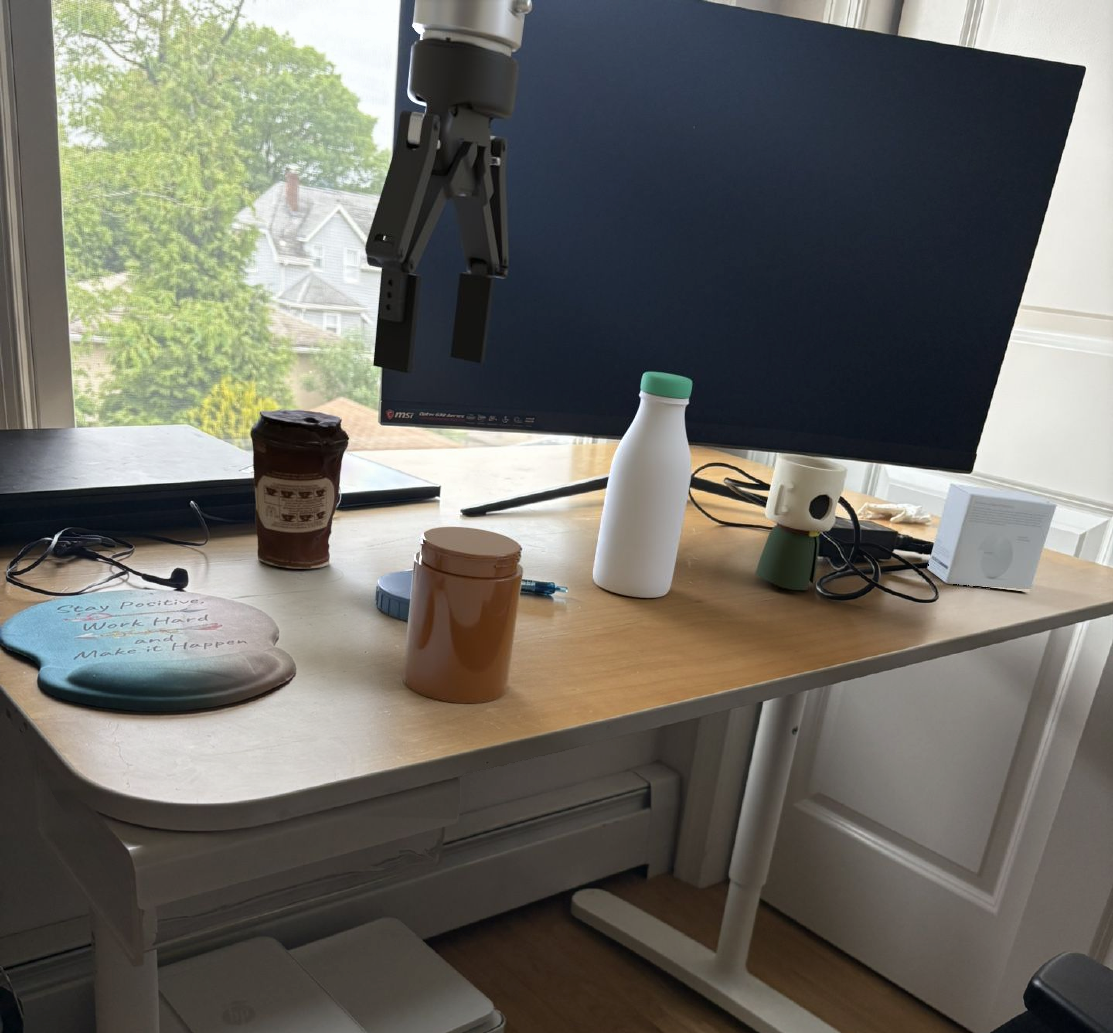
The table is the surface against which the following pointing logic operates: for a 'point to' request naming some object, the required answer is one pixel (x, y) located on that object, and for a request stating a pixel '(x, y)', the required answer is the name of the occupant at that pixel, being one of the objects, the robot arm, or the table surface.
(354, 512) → the table surface
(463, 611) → the jar
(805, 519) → the character mug
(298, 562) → the coffee cup
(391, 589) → the jar lid
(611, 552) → the milk bottle
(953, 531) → the cosmetics box
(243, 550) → the table surface
